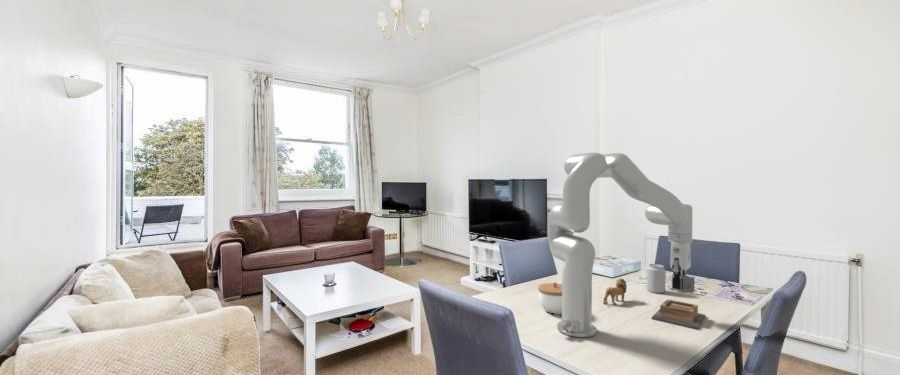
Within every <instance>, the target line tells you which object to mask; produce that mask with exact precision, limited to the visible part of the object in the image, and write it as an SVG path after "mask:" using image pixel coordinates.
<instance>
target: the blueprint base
mask: <svg viewBox="0 0 900 375" xmlns="http://www.w3.org/2000/svg"><path fill="white" fill-rule="evenodd" d="M659 307H660V308H659V309H658V310H657V311H656V312H655V313H654V314H653V315H652V317H651V319H652V320H655V321H657V322H658V321H659V322H663V323H668V324H672V325H675V326H681V327H684V328H688V329H693V330H699V328H700V326H701V325H702V323H703V322H704V320H705V318H706V314H704V313H701V312H700V313H699V312H698V310H699V305H697V304H694V303H689V302H684V301H683V302H682V301H678V300H673V299H666V300H664V302H662V304H660V306H659Z"/></svg>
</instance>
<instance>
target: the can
mask: <svg viewBox="0 0 900 375" xmlns="http://www.w3.org/2000/svg"><path fill="white" fill-rule="evenodd" d="M645 288H646V290H647V291H648V292H650V293H653V294H664V293H665V292H666V268H665V266H664V265H663V264H658V263H656V264H655V263H649V264H648V265H647V267H646V287H645Z"/></svg>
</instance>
